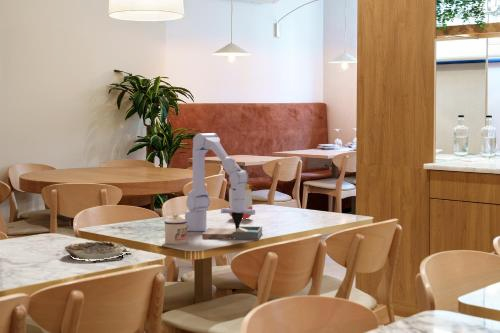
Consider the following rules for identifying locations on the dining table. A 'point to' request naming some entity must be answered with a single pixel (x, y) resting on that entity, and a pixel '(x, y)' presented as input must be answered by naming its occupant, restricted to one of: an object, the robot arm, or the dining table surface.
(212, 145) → the robot arm
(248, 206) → the french fries container
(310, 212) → the dining table surface
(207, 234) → the walnut board
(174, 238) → the teacup with lid
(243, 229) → the cream tile
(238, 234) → the tray
